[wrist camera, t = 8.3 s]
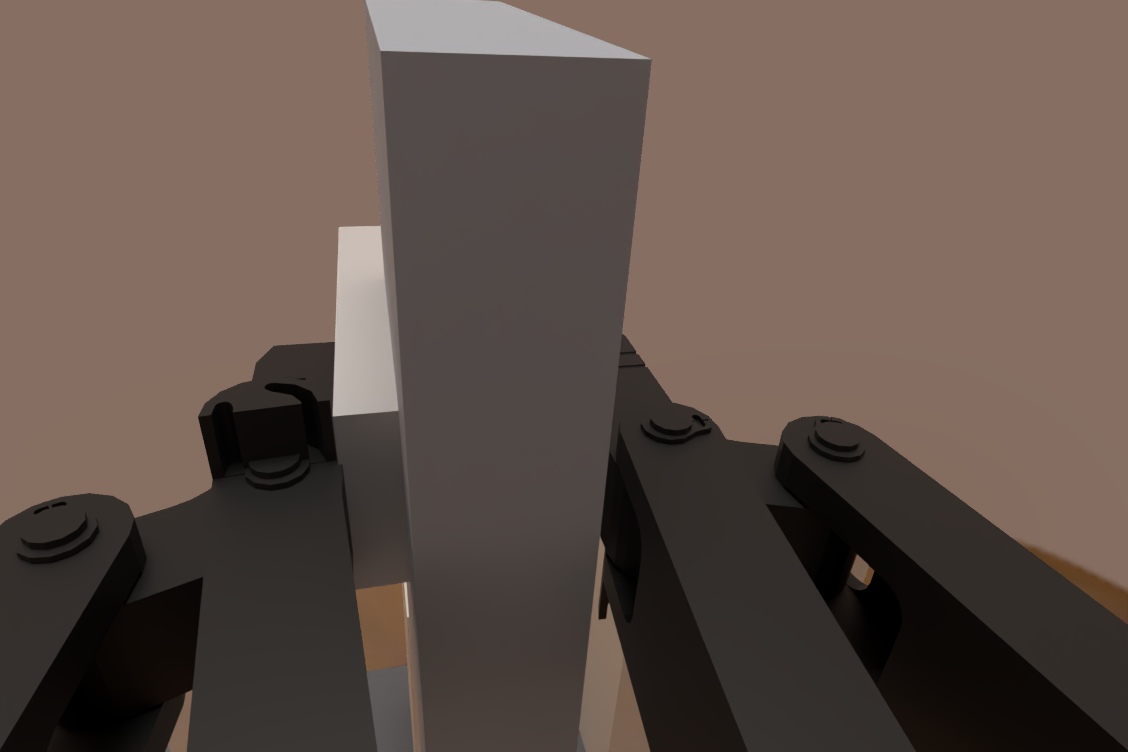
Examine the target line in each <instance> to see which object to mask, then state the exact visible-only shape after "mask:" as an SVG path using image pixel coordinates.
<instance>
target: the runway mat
mask: <svg viewBox="0 0 1128 752" xmlns="http://www.w3.org/2000/svg"><path fill="white" fill-rule="evenodd" d="M367 679H368V686H369V693H370V700H371V707H372V715H373V722H374V729H375V736H376V743H377V751H378V752H414V748H413V736H412V723H411V711H410V697H409V682H408V667H407V665H404V666H398V667H392V668H386V669H380V670H374V671H368V672H367ZM165 752H170V749H169V746H167V748H166V751H165ZM577 752H586V751H585V748H584V744H583V741H582V737H581V734H580V731H579V734H578V744H577Z"/></svg>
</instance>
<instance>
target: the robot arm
mask: <svg viewBox="0 0 1128 752" xmlns="http://www.w3.org/2000/svg"><path fill="white" fill-rule="evenodd" d="M198 419H199V423H200V427H201V431H202V436H203V440H204V444H205V448H206V452H207V456H208V461H209V465H210V469H211V474H212V478H213V482H212V488H211V489H210V490H208V491H206V492H204V493H203V494H201V495H199V496H197V497H196V498H193V499H191V500H189V501H186V502H184V503H181V504H178V505H176V506H173V507H170V508H167V509H163V510H160V511H157V512H154V513H150V514H147V515H144V516H141V517H137V518H134V516H133V514H132V511H131V509H130V507H129V505H128V504H127V503H125V502H123V501H121V500H119V499H117V498H115V497H114V496H109V495H99V494H90V493H88V494H80V495H73V496H65V497H60V498H57V499H53V500H50V501H47V502H43V503H41V504H38V505H35V506H32V507H30V508H28V509H26V510H25V511H23V512H21V513H19V514H17V515H15V516H14V517H12V518H10V519H8V520H6V521H5V522H4V523H2V525H0V752H165V751H166V748H167V746H168V743H169V741H170V738H171V735H172V733H173V730H174V728H175V725H176V723H177V720H178V718H179V715H180V713H181V710H182V707H183V705H184V701H185V694H186V693H187V692H189V691H191V690H192V700H191V711H190V721H189V732H188V742H187V752H378V751H377V743H376V736H375V729H374V722H373V715H372V707H371V700H370V693H369V686H368V679H367V672H366V664H365V657H364V650H363V643H362V636H361V628H360V621H359V614H358V607H357V600H356V593H355V590H356V589H363V588H370V587H377V586H384V585H391V584H398V583H405V582H410V571H409V556H408V542H407V527H406V512H405V498H404V483H403V469H402V454H401V440H400V425H399V411H398V401H397V392H396V383H395V373H394V364H393V354H392V345H391V336H390V326H389V317H388V307H387V298H386V289H385V279H384V266H383V252H382V238H381V227H380V226H359V227H339V243H338V273H337V301H336V331H335V342H328V343H312V344H296V345H280V346H273V347H272V348H271V349H270V350H269V351H268V352H267V353H266V354H265V355H264V356H263V357H262V358H261V359H260V360H259V361H258V362H257V363H256V366H255V371H254V375H253V379H252V381H249V382H244V383H241V384H238V385H236V386H233V387H231V388H228V389H226V390H224V391H221V392H219V393H218V394H217V395H216V396H214V397H213V398H212V399H210V400H209V401H208V402H206V403H205V404H204V406H203V408H202V410H201V412H200V414H199V416H198ZM600 537H601V540H602V542H603V544H604V547H605V552H604V561H603V570H602V579H601V587H600V596H599V605H598V620H601V619H606V616H607V608H608V604H610V608H611V611H612V615H613V619H614V622H615V626H616V629H617V633H618V637H619V640H620V644H621V647H622V651H623V655H624V658H625V662H626V666H627V669H628V673H629V676H630V680H631V684H632V687H633V691H634V694H635V698H636V702H637V705H638V709H639V713H640V716H641V720H642V723H643V727H644V731H645V734H646V738H647V741H648V745H649V749H650V752H1128V625H1127V624H1126V623H1125V622H1123V621H1122V620H1121V619H1119V618H1118V617H1117V616H1115V615H1114V614H1113V613H1111V612H1110V611H1109V610H1107V609H1106V608H1105V607H1103V606H1102V605H1101V604H1099V603H1098V602H1097V601H1095V600H1094V599H1093V598H1091V597H1090V596H1089V595H1087V594H1086V593H1085V592H1083V591H1082V590H1081V589H1079V588H1078V587H1077V586H1075V585H1074V584H1073V583H1071V582H1070V581H1069V580H1067V579H1066V578H1065V577H1063V576H1062V575H1061V574H1059V573H1058V572H1057V571H1055V570H1054V569H1053V568H1051V567H1050V566H1049V565H1047V564H1046V563H1045V562H1043V561H1042V560H1041V559H1039V558H1038V557H1037V556H1035V555H1034V554H1033V553H1031V552H1030V551H1029V550H1027V549H1026V548H1025V547H1023V546H1022V545H1021V544H1019V543H1018V542H1017V541H1015V540H1014V539H1013V538H1011V537H1010V536H1009V535H1007V534H1006V533H1005V532H1003V531H1002V530H1000V529H999V528H998V527H996V526H995V525H994V524H992V523H991V522H990V521H988V520H987V519H986V518H984V517H983V516H982V515H980V514H979V513H978V512H976V511H975V510H974V509H972V508H971V507H970V506H968V505H967V504H966V503H964V502H963V501H962V500H960V499H959V498H958V497H956V496H955V495H954V494H952V493H951V492H950V491H948V490H947V489H946V488H944V487H943V486H942V485H940V484H939V483H938V482H936V481H935V480H934V479H932V478H931V477H930V476H928V475H927V474H926V473H924V472H923V471H922V470H920V469H919V468H917V467H916V466H915V465H914V464H912V463H911V462H910V461H908V460H907V459H906V458H904V457H903V456H902V455H900V454H899V453H898V452H896V451H895V450H894V449H892V448H891V447H889V446H888V445H887V444H886V443H884V442H883V441H882V440H880V439H879V438H878V437H876V436H875V435H873V434H872V433H870V432H868V431H866V430H864V429H863V428H861V427H860V426H857V425H855V424H852V423H849V422H846V421H844V420H842V419H839V418H834V417H831V418H829V417H826V416H812V417H801V418H799V419H796V420H794V421H791V422H789V423H788V424H787V426H786V427H785V428H784V430H783V431H782V435H781V439H780V443H779V446H776V445H766V444H756V443H747V442H739V441H733V440H727V439H726V438H725V437H724V435H723V434H722V432H721V430H720V429H719V427H718V426H717V425H716V424H715V423H714V422H713V421H712V419H711V418H709V416H707V415H705V414H703V413H701V412H700V411H698V410H696V409H694V408H691V407H688V406H684V405H681V404H677V403H672V402H671V400H670V399H669V397H668V396H667V394H666V393H665V391H664V390H663V389H662V387H661V386H660V384H659V383H658V382H657V380H656V379H655V377H654V376H653V375H652V373H651V372H650V370H649V369H648V368H647V367H645V363H644V362H643V360H642V359H641V358H640V356H639V355H638V354H637V355H636V351H635V349H634V348H633V346H632V345H631V344H630V342H629V340H628V339H627V338H626V336H624V335H623V334H622V338H621V347H620V356H619V365H618V375H617V384H616V393H615V402H614V411H613V421H612V430H611V439H610V448H609V458H608V467H607V476H606V485H605V494H604V504H603V513H602V522H601V531H600ZM857 555H858V556H859V557H861V558H862V559H863V560H864V561H865V562H866V563H867V564H868V565H869V566H870V567H871V568H872V569H873V570H874V571H875V572H874V574H873V577H872V580H871V582H870V584H869V585H865V584H864V583H862V582H861V581H859V580H858V579H857V578H856V577H855V576H854V575H853V574H852V573H851V570H852V567H853V564H854V561H855V559H856V556H857Z"/></svg>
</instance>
